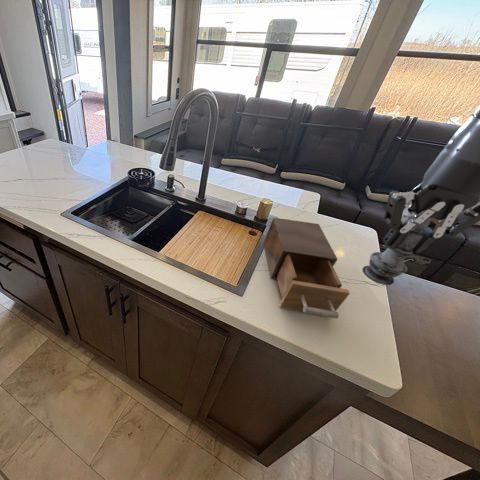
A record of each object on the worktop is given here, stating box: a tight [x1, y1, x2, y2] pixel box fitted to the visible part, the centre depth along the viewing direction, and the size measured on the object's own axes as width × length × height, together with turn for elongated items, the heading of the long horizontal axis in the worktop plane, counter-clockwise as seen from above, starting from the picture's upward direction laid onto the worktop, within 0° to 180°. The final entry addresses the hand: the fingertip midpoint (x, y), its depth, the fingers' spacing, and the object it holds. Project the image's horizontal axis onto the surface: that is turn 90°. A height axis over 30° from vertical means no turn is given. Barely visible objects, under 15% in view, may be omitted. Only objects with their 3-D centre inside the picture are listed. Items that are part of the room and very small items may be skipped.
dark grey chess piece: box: [362, 225, 422, 286], centre depth 47 cm, size 6×6×12 cm
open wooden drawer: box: [276, 253, 351, 319], centre depth 65 cm, size 20×12×9 cm, turn 169°
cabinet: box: [262, 217, 338, 280], centre depth 76 cm, size 17×14×11 cm
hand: (400, 247), depth 46 cm, fingers closed on dark grey chess piece, 3 cm apart
